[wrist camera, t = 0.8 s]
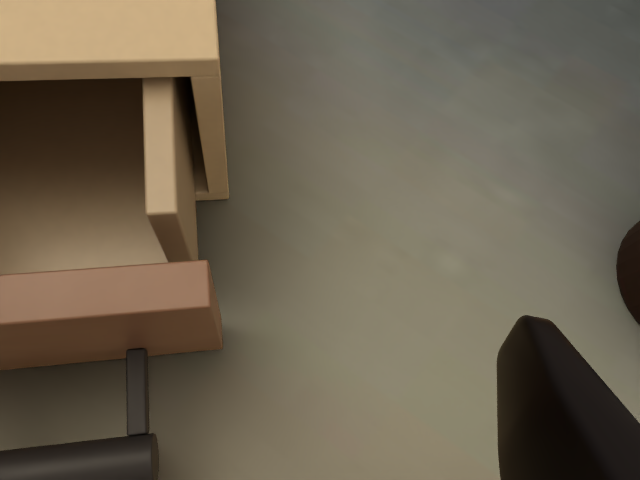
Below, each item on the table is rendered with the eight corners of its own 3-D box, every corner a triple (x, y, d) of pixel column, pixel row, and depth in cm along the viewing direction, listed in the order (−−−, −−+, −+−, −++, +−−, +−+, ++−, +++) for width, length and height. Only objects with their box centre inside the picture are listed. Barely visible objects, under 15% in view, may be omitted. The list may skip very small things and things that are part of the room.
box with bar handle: (230, 470, 20) (221, 497, 12) (-102, 512, 18) (-339, 572, 11) (205, 56, 25) (188, -103, 17) (-58, 61, 23) (-201, -111, 16)
